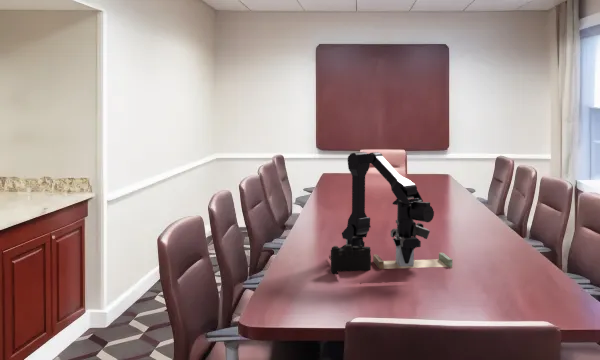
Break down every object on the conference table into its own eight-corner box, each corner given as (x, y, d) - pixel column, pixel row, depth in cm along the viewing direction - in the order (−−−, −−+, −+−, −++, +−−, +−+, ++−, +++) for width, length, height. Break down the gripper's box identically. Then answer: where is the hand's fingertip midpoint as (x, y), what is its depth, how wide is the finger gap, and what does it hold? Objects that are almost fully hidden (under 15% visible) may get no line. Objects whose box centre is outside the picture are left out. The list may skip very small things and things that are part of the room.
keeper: (399, 266, 196) (399, 246, 195) (395, 262, 201) (396, 243, 201) (413, 265, 196) (413, 246, 195) (409, 261, 202) (409, 242, 201)
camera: (367, 265, 201) (367, 238, 200) (372, 274, 190) (372, 245, 189) (328, 266, 200) (328, 239, 199) (331, 275, 190) (331, 246, 189)
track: (379, 271, 193) (379, 261, 193) (373, 263, 203) (373, 254, 203) (452, 269, 195) (452, 259, 195) (442, 261, 205) (442, 252, 205)
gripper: (436, 222, 188) (434, 267, 190) (420, 213, 207) (419, 254, 209) (403, 223, 187) (402, 268, 189) (390, 213, 206) (390, 254, 208)
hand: (404, 261), depth 199 cm, fingers closed on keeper, 5 cm apart
